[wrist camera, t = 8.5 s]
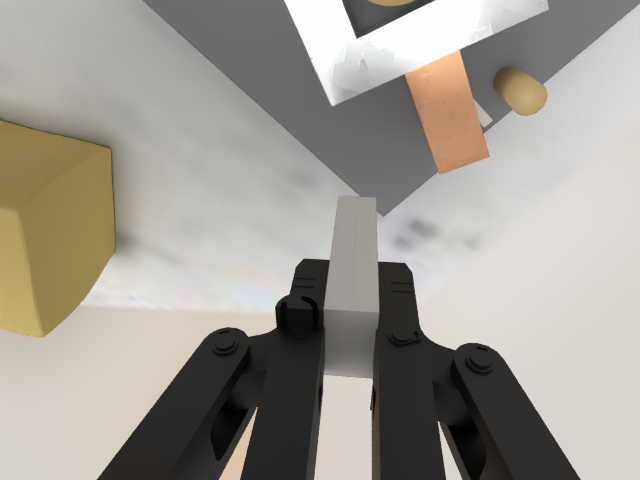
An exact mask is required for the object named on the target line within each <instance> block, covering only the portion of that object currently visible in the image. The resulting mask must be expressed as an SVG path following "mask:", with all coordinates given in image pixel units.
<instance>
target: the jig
mask: <svg viewBox="0 0 640 480" xmlns="http://www.w3.org/2000/svg"><path fill="white" fill-rule="evenodd" d="M143 1H144V2H145V3H146V4H147V5H148V6H149V7H150V8H151V9H153V10H154V11H155V12H156V13H157V14H158V15H159V16H160V17H161V18H163V19H164V20H165V21H166V22H167V23H168V24H169V25H170V26H172V27H173V28H174V29H175V30H176V31H177V32H178V33H179V34H180V35H182V36H183V37H184V38H185V39H186V40H187V41H188V42H189V43H190V44H192V45H193V46H194V47H195V48H196V49H197V50H198V51H199V52H200V53H202V54H203V55H204V56H205V57H206V58H207V59H208V60H209V61H210V62H212V63H213V64H214V65H215V66H216V67H217V68H218V69H219V70H221V71H222V72H223V73H224V74H225V75H226V76H227V77H228V78H229V79H231V80H232V81H233V82H234V83H235V84H236V85H237V86H238V87H239V88H241V89H242V90H243V91H244V92H245V93H246V94H247V95H248V96H249V97H251V98H252V99H253V100H254V101H255V102H256V103H257V104H258V105H259V106H261V107H262V108H263V109H264V110H265V111H266V112H267V113H268V114H269V115H271V116H272V117H273V118H274V119H275V120H276V121H277V122H278V123H280V124H281V125H282V126H283V127H284V128H285V129H286V130H287V131H288V132H290V133H291V134H292V135H293V136H294V137H295V138H296V139H297V140H298V141H300V142H301V143H302V144H303V145H304V146H305V147H306V148H307V149H308V150H310V151H311V152H312V153H313V154H314V155H315V156H316V157H317V158H318V159H320V160H321V161H322V162H323V163H324V164H325V165H326V166H327V167H329V168H330V169H331V170H332V171H333V172H334V173H335V174H336V175H337V176H339V177H340V178H341V179H342V180H343V181H344V182H345V183H346V184H347V185H349V186H350V187H351V188H352V189H353V190H354V191H355V192H356V193H357V194H359V195H360V196H361V197H375V198H376V211H378V212H379V213H380V214H381V215H382V216H383V217H384V216H385V215H386V214H387V213H389V212H390V211H391V210H392V209H393V208H395V207H396V206H397V205H398V204H400V203H401V202H402V201H403V200H404V199H406V198H407V197H408V196H409V195H410V194H412V193H413V192H414V191H415V190H416V189H418V188H419V187H420V186H421V185H422V184H424V183H425V182H426V181H427V180H428V179H430V178H431V177H432V176H433V175H434V174H436V173H437V172H438V168H437V166H436V163H435V160H434V157H433V154H432V151H431V148H430V146H429V143H428V140H427V137H426V134H425V131H424V128H423V126H422V123H421V120H420V117H419V114H418V111H417V108H416V106H415V103H414V100H413V97H412V94H411V91H410V88H409V86H408V83H407V80H406V77H405V74H403V75H401V76H399V77H397V78H394V79H392V80H390V81H388V82H386V83H383V84H381V85H379V86H377V87H374V88H372V89H370V90H368V91H365V92H363V93H361V94H359V95H356V96H354V97H352V98H350V99H348V100H345V101H343V102H341V103H339V104H336V105H334V106H331V103H330V101H329V99H328V97H327V94H326V92H325V90H324V88H323V85H322V83H321V81H320V79H319V76H318V74H317V72H316V70H315V67H314V65H313V63H312V61H311V58H310V56H309V54H308V52H307V49H306V47H305V45H304V43H303V40H302V38H301V36H300V34H299V31H298V29H297V27H296V25H295V22H294V20H293V18H292V16H291V13H290V11H289V9H288V7H287V4H286V2H285V0H143ZM346 1H347V4H348V7H349V9H350V12H351V14H352V17H353V20H354V22H355V25H356V27H357V30H358V33H360V32H362V31H364V30H366V29H368V28H370V27H372V26H374V25H376V24H378V23H380V22H382V21H384V20H386V19H388V18H390V17H392V16H394V15H396V14H398V13H400V12H402V11H404V10H406V9H408V8H410V7H412V6H414V5H416V4H418V3H420V2H422V1H424V0H346ZM547 2H548V7H549V10H547V11H544V12H542V13H540V14H538V15H535V16H533V17H531V18H529V19H526V20H524V21H522V22H520V23H517V24H515V25H513V26H511V27H509V28H506V29H504V30H502V31H500V32H497V33H495V34H493V35H491V36H488V37H486V38H484V39H482V40H479V41H477V42H475V43H473V44H471V45H468V46H466V47H464V48H462V49H459V50H460V54H461V57H462V61H463V64H464V68H465V71H466V75H467V78H468V82H469V85H470V89H471V93H472V96H473V100H474V103H475V107H476V110H477V114H478V117H479V121H480V124H481V128H482V131H483V134H484V133H485V132H486V131H487V130H488V129H490V128H491V127H492V126H493V125H494V124H496V123H497V122H498V121H499V120H500V119H502V118H503V117H504V116H505V115H506V114H508V113H509V112H510V111H511V110H512V109H513V110H514V111H515V112H516V113H518V114H520V115H525V116H527V115H532V114H534V113H536V112H538V111H539V110H540V109H541V108H542V107H543V106H544V104H545V102H546V99H547V91H546V88H545V87H544V86H543V85H542V84H544V83H545V82H546V81H547V80H548V79H550V78H551V77H552V76H553V75H554V74H556V73H557V72H558V71H559V70H560V69H562V68H563V67H564V66H565V65H566V64H568V63H569V62H570V61H571V60H572V59H574V58H575V57H576V56H577V55H578V54H580V53H581V52H582V51H583V50H584V49H586V48H587V47H588V46H589V45H590V44H592V43H593V42H594V41H595V40H596V39H598V38H599V37H600V36H601V35H602V34H604V33H605V32H606V31H607V30H608V29H610V28H611V27H612V26H613V25H614V24H616V23H617V22H618V21H619V20H620V19H622V18H623V17H624V16H625V15H626V14H628V13H629V12H630V11H631V10H632V9H634V8H635V7H636V6H637V5H638V4H640V0H547Z"/></svg>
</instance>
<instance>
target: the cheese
mask: <svg viewBox="0 0 640 480" xmlns="http://www.w3.org/2000/svg"><path fill="white" fill-rule="evenodd" d="M114 252H115V223H114V202H113V187H112V169H111V149H109V148H107V147H103V146H100V145H96V144H93V143H89V142H85V141H82V140H77V139H73V138H69V137H65V136H60V135H55V134H51V133H46V132H42V131H38V130H34V129H30V128H27V127H23V126H19V125H16V124H12V123H9V122H5V121H2V120H0V328H1V329H4V330H7V331H11V332H15V333H18V334H23V335H29V336H35V337H44V336H46V335H47V334H48V333H49V332H51V331H52V330H53V329H54V328H55V327H56V326H58V325H59V324H60V323H61V322H62V321H63V320H64V319H66V318H67V317H68V316H69V315H70V314H71V313H72V312H73V311H74V310H75V309H76V308H77V307H78V305H79V304H80V303H81V302H82V301H83V300H84V298H85V297H86V296H87V294H88V293H89V291H90V290H91V289H92V287H93V286H94V284H95V282H96V281H97V279H98V278H99V276H100V274H101V273H102V271H103V269H104V267H105V266H106V264H107V262H108V261H109V259H110V258H111V256H112V255H113V254H114Z"/></svg>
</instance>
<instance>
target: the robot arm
mask: <svg viewBox="0 0 640 480" xmlns="http://www.w3.org/2000/svg"><path fill="white" fill-rule="evenodd" d="M275 311H276V323H277V328H275V329H274V330H272V331H270V332H268V333H265V334H262V335H256V336H251V337H248V336H247V335H246V334H245V332H244V331H241V330H240V329H237V328H230V327H227V328H222V329H218V330H216V331H214V332H212V333H211V334H209V335H208V336H207V337H206V338H205V339H204V340H203V341H202V343H201V344H200V346H199V347H198V348H197V349H196V351H195V352H194V353H193V354H192V356H191V357H190V359H189V360H188V361H187V362H186V364H185V365H184V366H183V368H182V369H181V370H180V371H179V373H178V374H177V375H176V377H175V378H174V379H173V381H172V382H171V383H170V385H169V386H168V387H167V389H166V390H165V391H164V392H163V394H162V395H161V396H160V398H159V399H158V400H157V402H156V403H155V404H154V406H153V407H152V408H151V409H150V411H149V412H148V413H147V415H146V416H145V418H144V419H143V420H142V421H141V423H140V424H139V425H138V427H137V428H136V429H135V430H134V432H133V433H132V434H131V436H130V437H129V438H128V440H127V441H126V442H125V444H124V445H123V446H122V447H121V449H120V450H119V452H118V453H117V454H116V455H115V457H114V458H113V459H112V461H111V462H110V463H109V465H108V466H107V467H106V468H105V470H104V471H103V472H102V474H101V475H100V476H99V478H98V479H97V480H219V478H220V476H221V474H222V473H223V470H224V469H225V467H226V465H227V463H228V461H229V459H230V457H231V456H232V454H233V452H234V450H235V448H236V446H237V444H238V442H239V440H240V438H241V437H242V434H243V433H244V431H245V429H246V427H247V425H248V424H249V422H250V420H251V418H252V416H253V414H254V412H255V410H256V407H258V409H257V413H256V417H255V421H254V425H253V429H252V433H251V437H250V441H249V446H248V449H247V454H246V458H245V462H244V466H243V471H242V474H241V478H240V480H314V474H315V465H316V455H317V445H318V435H319V425H320V416H321V406H322V396H323V375H332V376H346V377H359V378H372V379H373V386H372V396H371V406H370V410H372V480H446V476H445V469H444V462H443V455H442V448H441V441H440V434H439V427H438V421H439V422H440V426H441V429H442V431H443V433H444V436H445V438H446V441H447V443H448V445H449V448H450V450H451V453H452V455H453V458H454V460H455V463H456V465H457V467H458V470H459V472H460V475H461V477H462V479H463V480H580V478H579V477H578V475H577V473H576V472H575V470H574V469H573V467H572V466H571V464H570V462H569V461H568V459H567V458H566V456H565V454H564V453H563V451H562V450H561V448H560V447H559V445H558V443H557V442H556V441H555V439H554V437H553V436H552V434H551V433H550V431H549V429H548V428H547V426H546V425H545V423H544V422H543V420H542V418H541V417H540V415H539V414H538V412H537V411H536V409H535V407H534V406H533V404H532V403H531V401H530V400H529V398H528V396H527V395H526V393H525V392H524V390H523V389H522V387H521V385H520V384H519V383H518V381H517V379H516V378H515V376H514V375H513V373H512V371H511V370H510V368H509V367H508V365H507V364H506V362H505V360H504V359H503V358H502V357H501V356H500V354H498V352H497V351H495V350H493V349H492V348H490V347H489V346H486V345H482V344H479V343H467V344H464V345H461V346H460V347H458V349H456V350H453V349H450V348H446V347H443V346H441V345H438V344H436V343H434V342H433V341H431V340H430V339H428V338H427V337H426V336H425V335H424V333H423V331H422V330H421V328H420V325H419V318H418V311H417V304H416V296H415V289H414V282H413V275H412V272H411V270H410V269H409V268H408V266H407V265H406V264H405V263H394V262H378V252H377V217H376V198H375V197H351V196H338V202H337V210H336V217H335V225H334V233H333V241H332V248H331V256H330V260H320V259H303V260H302V261H301V262H300V263H299V264H298V266H297V267H296V269H295V273H294V278H293V282H292V287H291V290H290V294H289V295H287V296H285V297H283V298H282V299H281V300H279V301H278V303H277V305H276V307H275Z"/></svg>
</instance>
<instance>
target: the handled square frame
mask: <svg viewBox="0 0 640 480" xmlns="http://www.w3.org/2000/svg"><path fill="white" fill-rule="evenodd" d="M285 2H286V4H287V7H288V9H289V11H290V13H291V16H292V18H293V20H294V22H295V25H296V27H297V29H298V31H299V34H300V36H301V38H302V40H303V43H304V45H305V47H306V49H307V52H308V54H309V56H310V58H311V61H312V63H313V65H314V67H315V70H316V72H317V74H318V76H319V79H320V81H321V83H322V85H323V88H324V90H325V92H326V94H327V97H328V99H329V101H330V103H331V106H334V105H336V104H339V103H341V102H343V101H345V100H348V99H350V98H352V97H354V96H356V95H359V94H361V93H363V92H365V91H368V90H370V89H372V88H374V87H377V86H379V85H381V84H383V83H386V82H388V81H390V80H392V79H394V78H397V77H399V76H401V75H403V74H405V77H406V80H407V83H408V86H409V88H410V91H411V94H412V97H413V100H414V103H415V106H416V108H417V111H418V114H419V117H420V120H421V123H422V126H423V128H424V131H425V134H426V137H427V140H428V143H429V146H430V148H431V151H432V154H433V157H434V160H435V163H436V166H437V168H438V171H439V174H443V173H445V172H448V171H451V170H454V169H457V168H459V167H462V166H465V165H468V164H471V163H473V162H476V161H479V160H482V159H485V158H487V157H490V156H489V153H488V149H487V146H486V142H485V139H484V135H483V131H482V128H481V124H480V121H479V117H478V114H477V110H476V107H475V103H474V100H473V96H472V93H471V89H470V85H469V82H468V78H467V75H466V71H465V68H464V64H463V61H462V57H461V54H460V50H459V49H462V48H464V47H466V46H468V45H471V44H473V43H475V42H477V41H479V40H482V39H484V38H486V37H488V36H491V35H493V34H495V33H497V32H500V31H502V30H504V29H506V28H509V27H511V26H513V25H515V24H517V23H520V22H522V21H524V20H526V19H529V18H531V17H533V16H535V15H538V14H540V13H542V12H544V11H547V10H549V7H548V2H547V0H424V1H422V2H420V3H418V4H416V5H414V6H412V7H410V8H408V9H406V10H404V11H402V12H400V13H398V14H396V15H394V16H392V17H390V18H388V19H386V20H384V21H382V22H380V23H378V24H376V25H374V26H372V27H370V28H368V29H366V30H364V31H362V32H360V33H358V30H357V27H356V25H355V22H354V20H353V17H352V14H351V12H350V9H349V7H348V4H347V1H346V0H285Z"/></svg>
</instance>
